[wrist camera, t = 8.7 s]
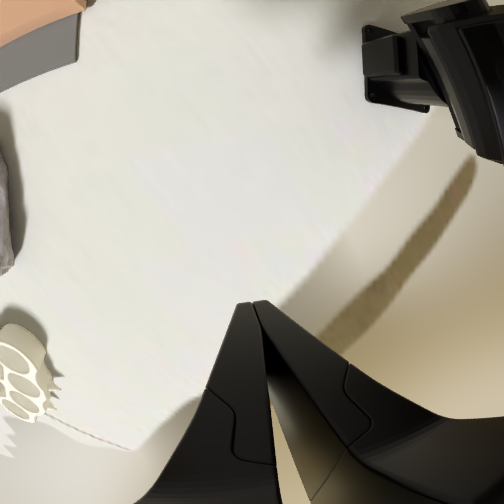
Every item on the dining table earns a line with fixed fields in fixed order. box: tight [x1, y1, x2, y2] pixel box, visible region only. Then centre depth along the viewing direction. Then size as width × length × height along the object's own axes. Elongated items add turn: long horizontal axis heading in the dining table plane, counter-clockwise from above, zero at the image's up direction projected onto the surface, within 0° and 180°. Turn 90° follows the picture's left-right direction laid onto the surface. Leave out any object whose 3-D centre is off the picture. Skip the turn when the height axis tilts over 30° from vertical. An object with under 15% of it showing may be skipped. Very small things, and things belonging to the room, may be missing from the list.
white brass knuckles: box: [0, 323, 61, 422], centre depth 22 cm, size 3×18×15 cm
